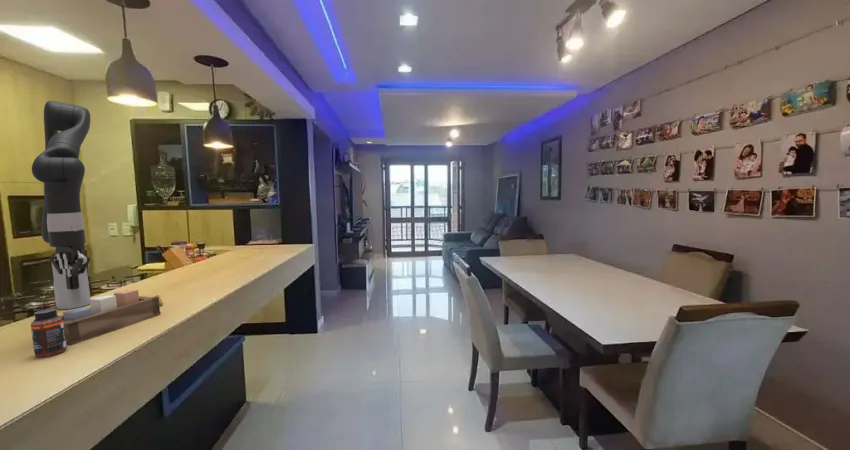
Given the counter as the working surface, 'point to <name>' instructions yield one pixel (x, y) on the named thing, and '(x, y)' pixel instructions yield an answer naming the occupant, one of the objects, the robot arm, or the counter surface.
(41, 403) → the counter surface
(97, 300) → the white block
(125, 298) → the pink block
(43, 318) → the supplement bottle
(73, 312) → the slate key
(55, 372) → the counter surface
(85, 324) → the brown wooden tray
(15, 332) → the counter surface
